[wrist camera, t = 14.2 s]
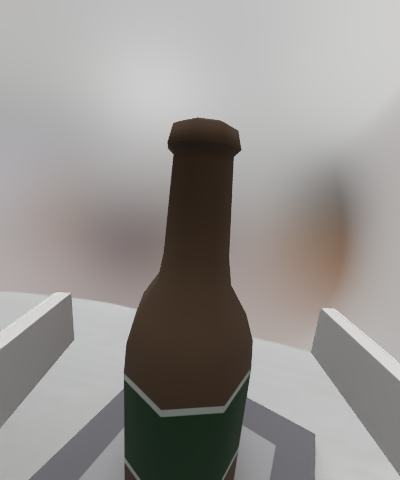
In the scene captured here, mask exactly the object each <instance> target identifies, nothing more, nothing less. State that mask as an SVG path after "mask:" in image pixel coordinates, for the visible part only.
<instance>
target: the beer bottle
mask: <svg viewBox="0 0 400 480" xmlns="http://www.w3.org/2000/svg"><path fill="white" fill-rule="evenodd" d="M168 149H169V150H170V151H171V152H172V153H173V154H174V156H173V166H172V176H171V186H170V196H169V206H168V216H167V227H166V236H165V246H164V255H163V258H162V263H161V268H160V272H159V274H158V275H157V276H156V277H155V279H154V280H153V281H152V283H151V284H150V285H149V287H148V288H147V289H146V291H145V292H144V294H143V297H142V299H141V301H140V304H139V307H138V309H137V312H136V315H135V318H134V321H133V324H132V328H131V331H130V334H129V337H128V341H127V345H126V356H125V367H124V471H125V480H234V475H235V469H236V462H237V456H238V449H239V443H240V436H241V430H242V423H243V417H244V410H245V404H246V397H247V391H248V384H249V378H250V371H251V360H252V343H253V340H252V336H251V333H250V328H249V324H248V320H247V316H246V313H245V311H244V310H243V308H242V305H241V304H240V302H239V300H238V298H237V296H236V294H235V292H234V290H233V288H232V286H231V279H230V266H229V246H230V225H231V203H232V180H233V160H234V156H235V155H236V154H238V153H239V152H240V151H241V145H240V139H239V133H238V131H237V130H236V129H234V128H232V127H231V126H229V125H227V124H226V123H224V122H222V121H220V120H212V119H204V118H193V119H188V120H183V121H179V122H176V123H173V126H172V129H171V133H170V136H169V140H168Z"/></svg>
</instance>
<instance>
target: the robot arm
mask: <svg viewBox="0 0 400 480" xmlns="http://www.w3.org/2000/svg"><path fill="white" fill-rule="evenodd" d="M73 340H74V330H73V315H72V300H71V293H62V292H56V293H54V294H53V295H51V296H50V297H48V298H47V299H45V300H44V301H43V302H41V303H40V304H38V305H37V306H35V307H34V308H33V309H31V310H30V311H28V312H27V313H26V314H24V315H23V316H21V317H20V318H18V319H17V320H16V321H14V322H13V323H11V324H10V325H8V326H7V327H6V328H4V329H3V330H1V331H0V428H1V427H2V425H3V424H4V423H5V422H6V421H7V419H8V418H9V417H10V416H11V415H12V413H13V412H14V411H15V410H16V409H17V407H18V406H19V405H20V404H21V403H22V401H23V400H24V399H25V398H26V397H27V395H28V394H29V393H30V392H31V391H32V389H33V388H34V387H35V386H36V385H37V383H38V382H39V381H40V380H41V379H42V378H43V376H44V375H45V374H46V373H47V372H48V370H49V369H50V368H51V367H52V366H53V364H54V363H55V362H56V361H57V360H58V358H59V357H60V356H61V355H62V354H63V352H64V351H65V350H66V349H67V348H68V346H69V345H70V344H71V343H72V342H73ZM311 353H312V354H313V356H314V357H315V358H316V360H317V361H318V363H319V364H320V365H321V367H322V368H323V369H324V371H325V372H326V374H327V375H328V376H329V378H330V379H331V381H332V382H333V383H334V385H335V386H336V388H337V389H338V390H339V392H340V393H341V395H342V396H343V397H344V399H345V400H346V401H347V403H348V404H349V406H350V407H351V408H352V410H353V411H354V413H355V414H356V415H357V417H358V418H359V420H360V421H361V422H362V424H363V425H364V426H365V428H366V429H367V431H368V432H369V433H370V435H371V436H372V438H373V439H374V440H375V442H376V443H377V445H378V446H379V447H380V449H381V450H382V452H383V453H384V454H385V456H386V457H387V458H388V460H389V461H390V463H391V464H392V465H393V467H394V468H395V470H396V471H397V472H398V474H399V475H400V363H399V362H398V361H396V360H395V359H394V358H393V357H392V356H391V355H389V354H388V353H387V352H386V351H384V350H383V349H382V348H381V347H380V346H379V345H377V344H376V343H375V342H374V341H373V340H371V339H370V338H369V337H368V336H367V335H365V334H364V333H363V332H362V331H361V330H360V329H358V328H357V327H356V326H355V325H354V324H352V323H351V322H350V321H349V320H348V319H346V318H345V317H344V316H343V315H342V314H340V313H339V312H338V311H337V310H336V309H328V308H321V310H320V314H319V319H318V323H317V328H316V332H315V337H314V341H313V346H312V350H311Z"/></svg>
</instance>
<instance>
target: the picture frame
mask: <svg viewBox="0 0 400 480" xmlns="http://www.w3.org/2000/svg"><path fill="white" fill-rule="evenodd" d="M314 470H315V434H314V433H312V432H310V431H308V430H306V429H304V428H303V427H301V426H299V425H297V424H295V423H293V422H291V421H290V420H288V419H286V418H284V417H282V416H280V415H278V414H277V413H275V412H273V411H271V410H269V409H267V408H265V407H264V406H262V405H260V404H258V403H256V402H254V401H252V400H251V399H249V398H247V397H246V404H245V410H244V417H243V423H242V430H241V436H240V443H239V449H238V456H237V462H236V469H235V475H234V480H314ZM29 480H125V471H124V389H123V390H122V391H121V392H120V393H119V394H118V395H117V396H116V397H115V398H114V399H113V400H112V401H111V402H110V403H109V404H108V405H106V406H105V407H104V408H103V409H102V410H101V411H100V412H99V413H98V414H97V415H96V416H95V417H94V418H93V419H92V420H91V421H90V422H89V423H88V424H87V425H86V426H85V427H83V428H82V429H81V430H80V431H79V432H78V433H77V434H76V435H75V436H74V437H73V438H72V439H71V440H70V441H69V442H68V443H67V444H66V445H65V446H64V447H63V448H62V449H60V450H59V451H58V452H57V453H56V454H55V455H54V456H53V457H52V458H51V459H50V460H49V461H48V462H47V463H46V464H45V465H44V466H43V467H42V468H41V469H40V470H39V471H37V472H36V473H35V474H34V475H33V476H32V477H31V478H30V479H29Z"/></svg>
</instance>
